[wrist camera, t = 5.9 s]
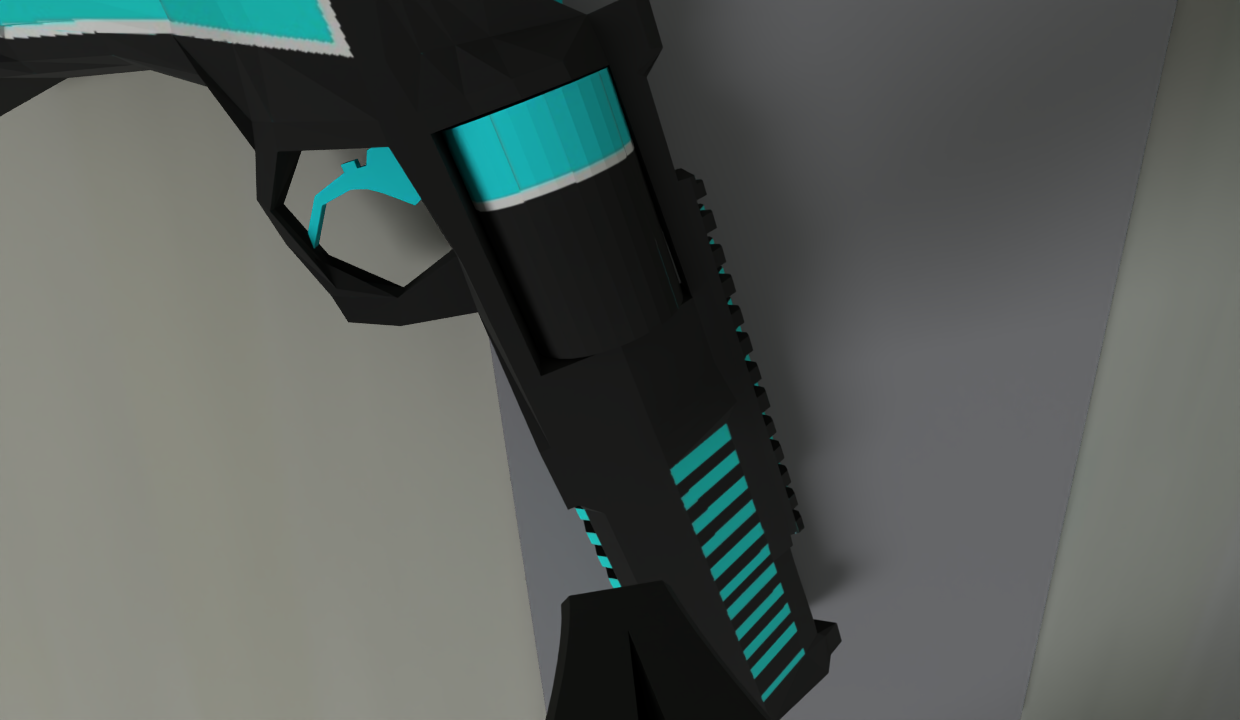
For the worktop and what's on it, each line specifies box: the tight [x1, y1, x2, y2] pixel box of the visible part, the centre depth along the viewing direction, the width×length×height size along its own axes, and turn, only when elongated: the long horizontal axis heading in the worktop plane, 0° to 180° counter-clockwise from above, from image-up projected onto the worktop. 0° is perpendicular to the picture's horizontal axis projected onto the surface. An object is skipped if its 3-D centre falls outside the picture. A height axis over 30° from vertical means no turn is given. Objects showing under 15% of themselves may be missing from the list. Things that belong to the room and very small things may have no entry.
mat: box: [489, 0, 1178, 720], centre depth 15 cm, size 24×14×1 cm, turn 4°
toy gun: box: [0, 0, 842, 720], centre depth 12 cm, size 3×20×10 cm
